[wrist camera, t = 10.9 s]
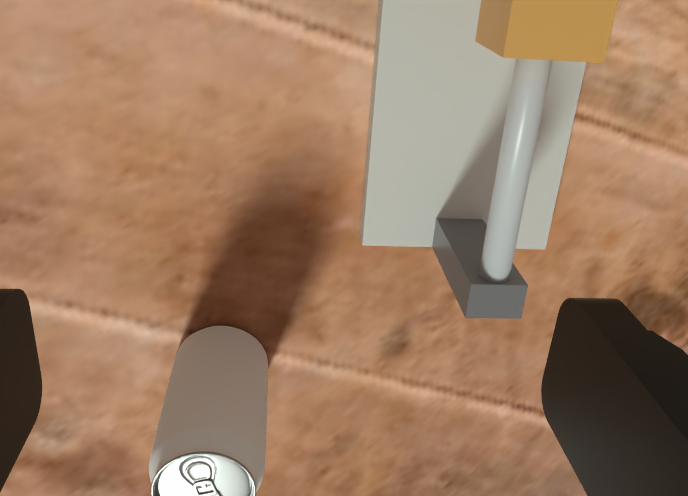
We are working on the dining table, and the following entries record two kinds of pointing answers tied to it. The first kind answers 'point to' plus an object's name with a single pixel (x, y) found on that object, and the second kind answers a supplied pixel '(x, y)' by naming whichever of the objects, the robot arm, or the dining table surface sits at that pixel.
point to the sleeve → (547, 29)
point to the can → (213, 417)
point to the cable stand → (463, 149)
